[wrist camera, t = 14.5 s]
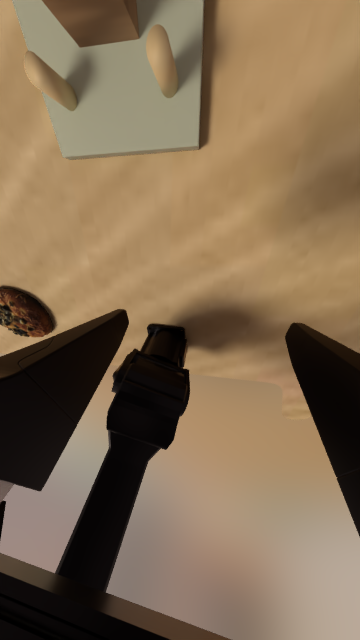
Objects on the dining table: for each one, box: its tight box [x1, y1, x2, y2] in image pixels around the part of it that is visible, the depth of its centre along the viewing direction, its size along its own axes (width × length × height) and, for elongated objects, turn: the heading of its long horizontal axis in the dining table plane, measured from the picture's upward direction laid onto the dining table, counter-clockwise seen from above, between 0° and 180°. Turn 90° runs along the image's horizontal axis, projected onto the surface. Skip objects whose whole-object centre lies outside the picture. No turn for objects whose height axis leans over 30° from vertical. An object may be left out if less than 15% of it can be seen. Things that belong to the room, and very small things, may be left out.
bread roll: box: [0, 288, 52, 337], centre depth 29 cm, size 11×11×5 cm
